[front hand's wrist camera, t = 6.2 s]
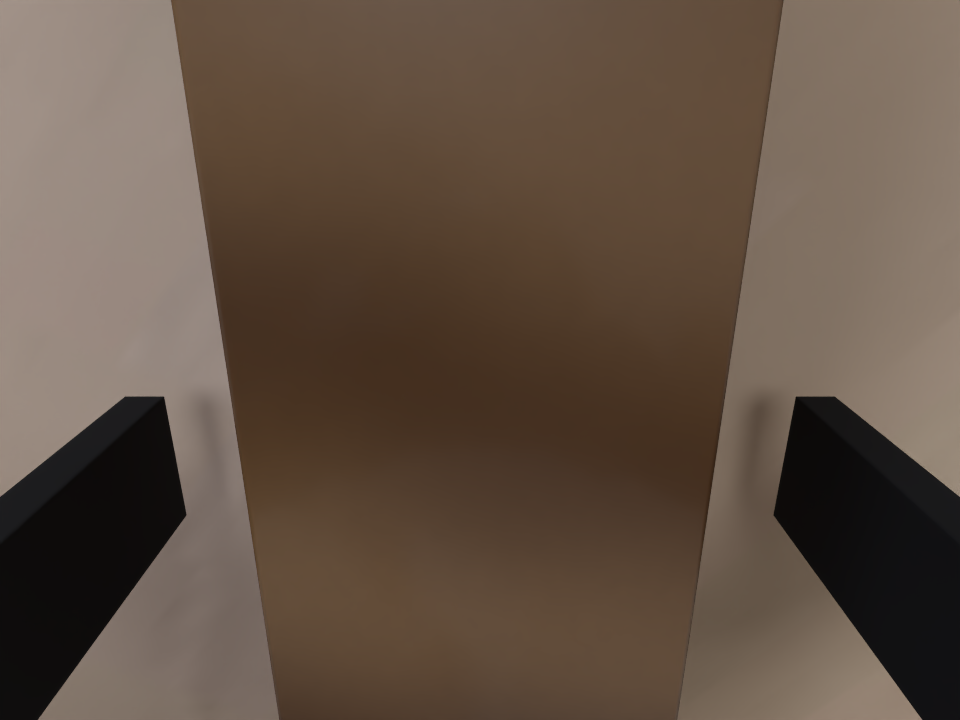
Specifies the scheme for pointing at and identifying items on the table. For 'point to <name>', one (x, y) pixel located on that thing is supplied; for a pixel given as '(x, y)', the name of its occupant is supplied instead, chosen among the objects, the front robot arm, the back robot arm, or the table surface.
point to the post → (477, 334)
